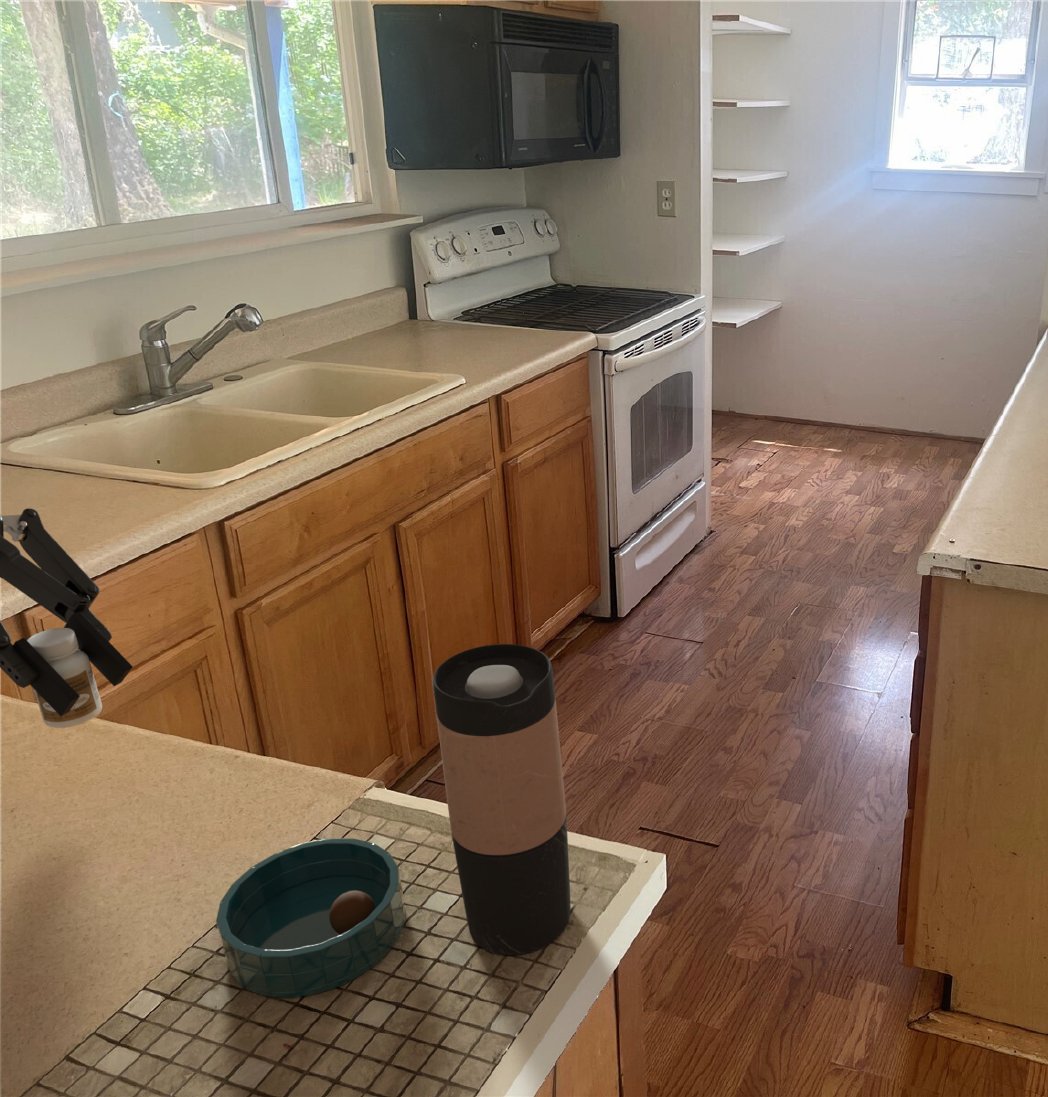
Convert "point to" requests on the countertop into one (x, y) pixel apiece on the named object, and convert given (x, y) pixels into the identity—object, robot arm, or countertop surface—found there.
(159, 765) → the countertop surface
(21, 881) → the countertop surface
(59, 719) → the pill bottle
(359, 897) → the brown ball
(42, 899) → the countertop surface
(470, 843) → the travel mug
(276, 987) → the bowl
